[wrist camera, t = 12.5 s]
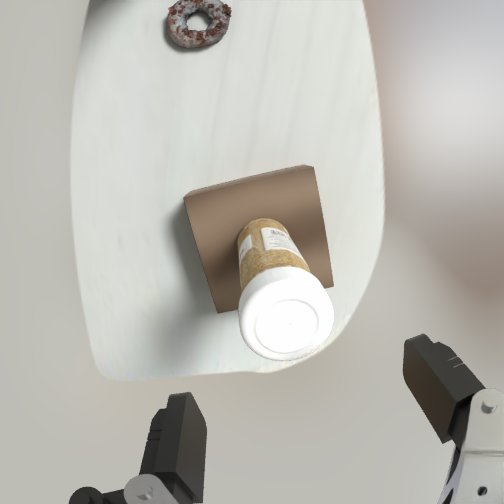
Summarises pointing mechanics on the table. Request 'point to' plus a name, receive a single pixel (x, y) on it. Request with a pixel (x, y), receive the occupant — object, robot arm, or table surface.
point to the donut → (180, 34)
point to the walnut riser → (252, 208)
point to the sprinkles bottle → (279, 295)
